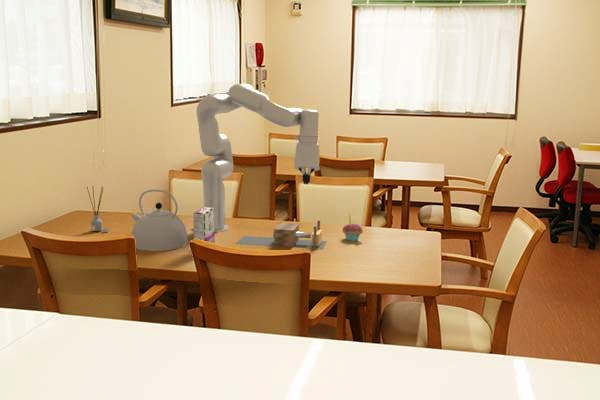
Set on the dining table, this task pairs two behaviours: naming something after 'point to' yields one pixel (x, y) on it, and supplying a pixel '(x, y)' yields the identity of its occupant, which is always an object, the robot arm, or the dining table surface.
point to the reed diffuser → (97, 217)
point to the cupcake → (352, 231)
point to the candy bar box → (204, 224)
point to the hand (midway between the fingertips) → (306, 183)
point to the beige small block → (317, 237)
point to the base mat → (270, 242)
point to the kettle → (159, 228)
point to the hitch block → (290, 234)
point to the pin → (301, 234)
